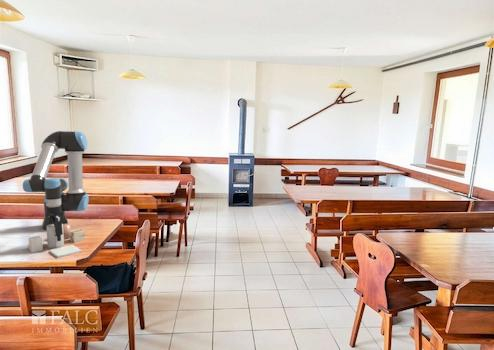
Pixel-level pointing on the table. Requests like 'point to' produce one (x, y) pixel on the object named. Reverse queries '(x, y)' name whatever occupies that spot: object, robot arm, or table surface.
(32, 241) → the offwhite box
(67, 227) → the terracotta cylinder
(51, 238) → the cup
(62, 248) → the mat
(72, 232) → the birch block
